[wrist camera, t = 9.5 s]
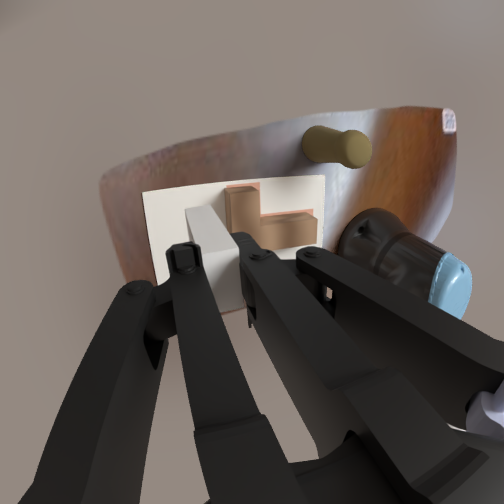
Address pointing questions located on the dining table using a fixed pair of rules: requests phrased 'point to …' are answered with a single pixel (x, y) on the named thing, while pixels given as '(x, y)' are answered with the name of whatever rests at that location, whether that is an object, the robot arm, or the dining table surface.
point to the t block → (267, 221)
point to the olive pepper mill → (337, 146)
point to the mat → (271, 203)
